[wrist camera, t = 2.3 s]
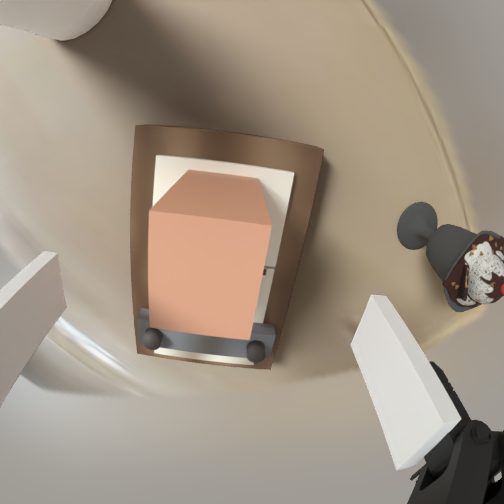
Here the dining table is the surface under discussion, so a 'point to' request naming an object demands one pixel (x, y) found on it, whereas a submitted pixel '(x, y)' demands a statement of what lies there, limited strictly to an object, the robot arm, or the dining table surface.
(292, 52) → the dining table surface
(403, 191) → the dining table surface
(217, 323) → the stub
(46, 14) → the bottle
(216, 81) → the dining table surface
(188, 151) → the board
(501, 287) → the sundae
